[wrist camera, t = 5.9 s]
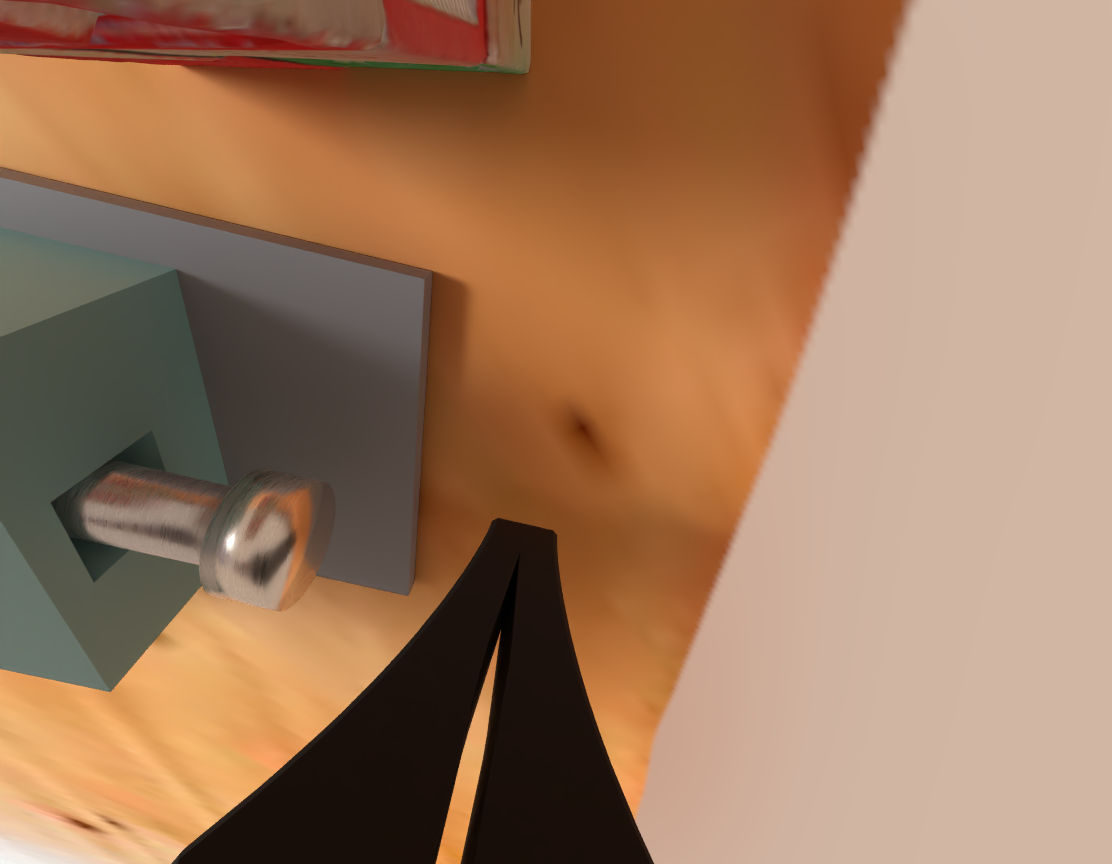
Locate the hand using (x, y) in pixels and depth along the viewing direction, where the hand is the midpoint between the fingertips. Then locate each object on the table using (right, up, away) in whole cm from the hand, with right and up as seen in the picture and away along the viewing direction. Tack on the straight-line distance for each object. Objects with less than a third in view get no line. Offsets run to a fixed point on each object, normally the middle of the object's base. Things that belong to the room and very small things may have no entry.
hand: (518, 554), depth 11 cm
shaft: (-9, +2, 0) cm, 10 cm away
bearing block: (-8, +3, +2) cm, 9 cm away
